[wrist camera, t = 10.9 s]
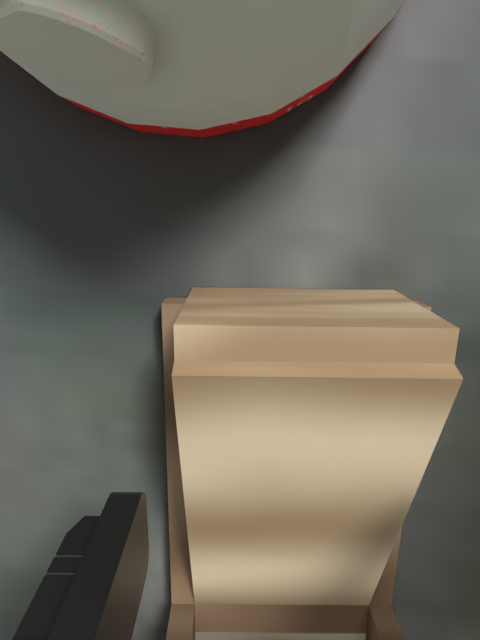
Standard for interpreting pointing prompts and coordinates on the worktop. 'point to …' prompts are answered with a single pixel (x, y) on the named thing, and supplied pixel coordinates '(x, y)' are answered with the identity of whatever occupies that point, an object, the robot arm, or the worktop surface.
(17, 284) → the worktop surface
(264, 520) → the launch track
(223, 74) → the white dome
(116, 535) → the robot arm
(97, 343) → the worktop surface
